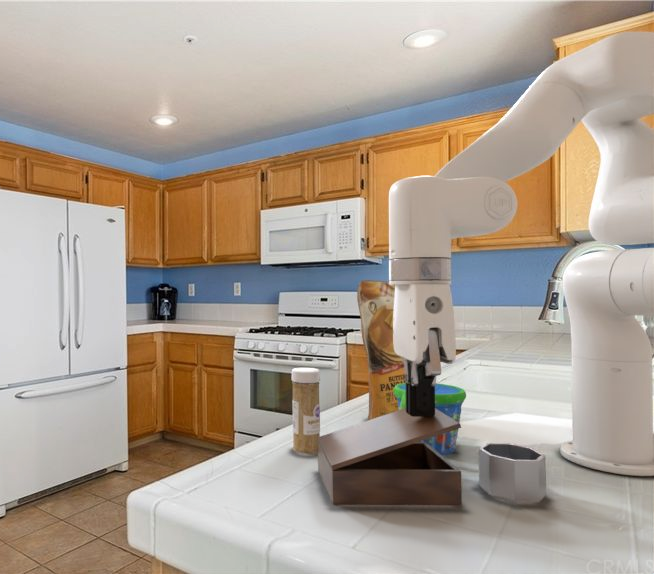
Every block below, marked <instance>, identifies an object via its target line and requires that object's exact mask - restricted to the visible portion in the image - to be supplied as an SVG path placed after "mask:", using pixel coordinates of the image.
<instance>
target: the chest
mask: <svg viewBox="0 0 654 574" xmlns="http://www.w3.org/2000/svg"><path fill="white" fill-rule="evenodd" d="M317 471H318V473H319V476H320V478H321V480H322V483H323V485H324V488H325V490H326V492H327V494H328V496H329V499H330V502H331V504H332V505H333V506H453V507H454V506H458V507H459V506H460V507H461V506H462V505H463V496H462V491H463V490H462V484H463V483H462V470H460V469H459V468H458V467H457V466H455V465H454V464H453V463H452V462H451V461H450V460H448V459H447V458H446V457H445V456H444V455H441V454H440V453H438V452H437V451H436V450H435V449H434V448H432V447H431V446H430V445H429V444H427V443H426V442H417V443H414V444H411V445H408V446H405V447H402V448H399V449H396V450H393V451H390V452H387V453H383V454H380V455H377V456H374V457H371V458H368V459H365V460H362V461H359V462H356V463H353V464H350V465H347V466H344V467H341V468H338V469H335V470H333V469H332V467H331V465H330V463H329V461H328V459H327V457H326V455H325V453H324V451H323V449H322V447H321V445H320V443H319V442H318V452H317Z"/></svg>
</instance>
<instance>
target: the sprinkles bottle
mask: <svg viewBox="0 0 654 574" xmlns="http://www.w3.org/2000/svg"><path fill="white" fill-rule="evenodd" d="M291 381H292V405H291V406H292V433H293V435H292V439H293V440H292V441H293V445H292V446H293V447H292V450H293V451H294V452H296V453H299V454H309V455H311V454H318V442H319V441H318V439H317V437H320V436H321V433H320V432H321V407H320V381H321V371H320V369H319V368H315V367H296V368H293V369H291Z"/></svg>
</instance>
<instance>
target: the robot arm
mask: <svg viewBox="0 0 654 574" xmlns="http://www.w3.org/2000/svg"><path fill="white" fill-rule="evenodd" d="M651 115H654V31H646V30H645V31H644V30H643V31H642V30H641V31H640V30H639V31H637V30H636V31H635V30H633V31H623V32H622V31H621V32H618V33H614V34H611V35H609V36H606V37H604V38H602V39H600V40H598V41H596V42H594V43H592V44H590V45H588V46H586V47H583V48H581V49H579V50H577V51H575V52H572V53H571V54H568V55H566V56H563V57H562V58H560V59H558V60H557V61H555V62H553V63H552V64H550V65H549V66H548V67H546V68H545V69H544V70H543V71H542V72H541V73H540V74H539V75H538V76H537V78H536V79H535V80H534V81H533V82H532V83H531V84H530V85H529V87H528V88H527V89H526V90H525V92H524V93H523V94H522V95H521V96H520V98H519V99H518V100H517V101H516V102H515V104H513V106H512V107H511V108H510V109H509V110H508V111H507V112H506V114H505V115H504V116H503V117H502V118H501V119H500V120H499V121H498V122H497V123H496V124H495V125H494V126H492V127H490V128H489V129H488V130H486V131H485V132H484V133H483V134H482V135H480V136H479V137H478V138H476V140H474V141H473V142H472V143H471V144H469V145H468V146H466V148H464V149H463V150H462V151H460V152H459V153H458V154H457V155H455V156H454V157H453V158H452V159H450V160H449V161H448V162H447V163H446V164H445V165H443V166H442V167H441V168H440V169H439V170H438V171H437V173H435V174H434V175H417V176H410V177H405V178H402V179H399V180H396V181H395V182H394V183H393V184H392V185H391V186H390V188H389V191H388V282H389V285H395V295H394V311H393V345H394V351H395V353H396V354H397V355H398V356H400V357H402V362H403V364H404V369H405V381H406V412H407V413H408V414H409V415H410V416H412V417H433V416H434V415H435V385H436V383H437V377H438V376H441V375H442V365H441V363H443V364H447V365H452V364H454V362H455V361H456V360H457V348H456V347H457V345H456V325H455V324H456V323H455V312H454V304H453V298H452V297H453V296H452V291H451V287H450V286H451V285H452V240H454V239H461V238H471V237H472V238H473V237H478V236H479V237H480V236H485V235H490V234H494V233H496V232H499V231H500V230H502V229H504V228H506V227H507V226H508V225H509V224H510V223H511V222H512V221H513V220H514V218H515V216H516V213H517V210H518V197H517V195H516V193H515V191H514V189H513V188H512V187H511V186H510V185H509V184H508V183H506V182H508V181H511V180H513V179H515V178H518V177H520V176H522V175H524V174H526V173H528V172H531V170H534V169H536V167H538V166H540V165H542V164H544V163H545V162H547V161H548V160H549V159H551V158H552V157H553V156H554V155H555V154H556V153H557V151H558V150H559V148H560V147H561V146H562V144H563V143H564V142H566V140H567V138H568V137H569V136H570V134H571V133H572V132H573V131H574V130H575V128H577V126H578V125H579V124H580V123H582V124H583V126H584V128H585V129H586V130H587V131H588V132H589V134H590V135H591V137H592V139H593V140H594V142H595V144H596V146H597V148H598V151H599V155H600V156H599V157H600V162H599V169H598V174H597V179H596V183H595V188H594V192H593V197H592V200H591V205H590V211H589V216H588V232H589V233H590V235H591V237H592V238H593V239H594V240H595V241H597V242H598V243H601V244H603V245H608V246H609V245H610V246H633V245H645V244H654V128H652V127H651V126H649V125H648V124H647V123H646V122H645V121H644V120H643V119H642V118H644V117H649V116H651ZM561 280H562V282H561V283H562V293H563V297H564V300H565V304H566V307H567V312H568V319H569V325H570V326H569V327H570V344H571V345H570V346H571V351H570V352H571V417H572V418H571V420H572V421H571V422H572V424H571V425H572V427H571V429H572V430H571V431H572V441H568V442H563V443H562V444H561V445H560V455H561V456H562V457H564V458H565V459H566V460H568V461H570V462H572V463H574V464H577V465H579V466H582V467H585V468H589V469H593V470H596V471H601V472H606V473H609V474H610V473H611V474H616V475H617V474H618V475H623V476H635V477H654V402H653V401H654V397H653V389H654V388H653V347H652V343H651V340H650V338H649V335H648V334H647V332H646V330H645V329H644V327H643V326H642V325H641V323H640V321H638V319H637V318H636V316H640V317H641V316H643V317H654V247H643V248H623V249H612V250H602V251H601V250H600V251H594V252H589V253H585V254H582V255H580V256H578V257H576V258H574V259H573V260H571V261H570V263H568V265H567V266H566V267H565V269H564V271H563V275H562V279H561Z"/></svg>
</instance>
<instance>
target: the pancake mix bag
mask: <svg viewBox="0 0 654 574" xmlns="http://www.w3.org/2000/svg"><path fill="white" fill-rule="evenodd" d="M394 295H395V285H389V281H387V280H386V281H385V280H375V279H374V280H373V279H365V280H360V281H359V283H358V285H357V293H356V299H357V305H358V311H359V316H360V317H359V318H360V322H361V323H360V326H361V327H360V330H361V338H362V343H363V348H364V351H365V356H366V360H367V361H366V362H367V380H368V381H367V383H368V415H367V421H368V420H371V419H374V418H377V417H380V416H383V415H386V414H389V413H392V412H395V411H398V410H399V404H398V400H397V398H396V396H395V394H394V387H395V386H396V385H397V384H401V383H406V381H405V369H404V364H403V362H402V357H400V356H398V355H397V354H396V353H395V351H394V345H393V311H394Z"/></svg>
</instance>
